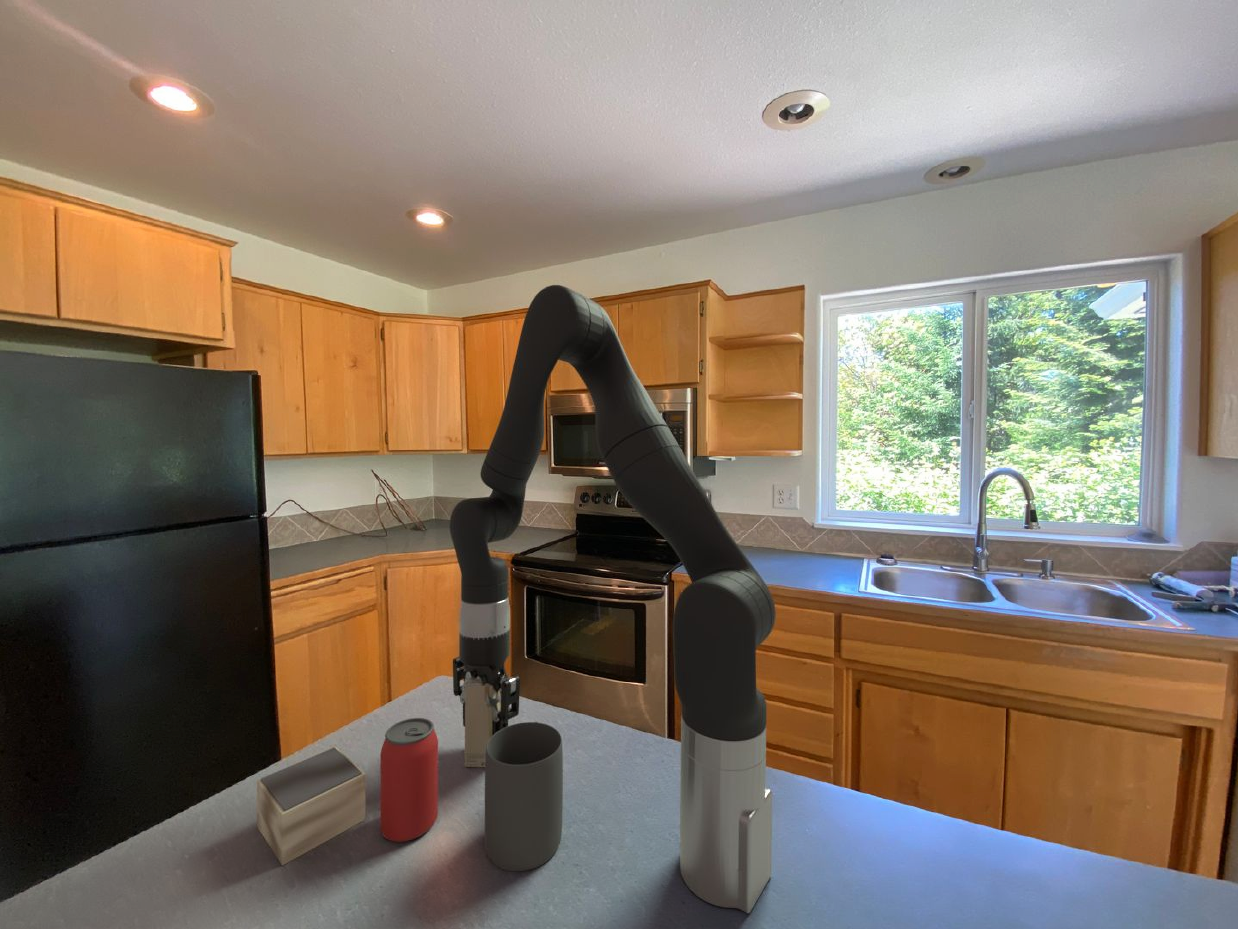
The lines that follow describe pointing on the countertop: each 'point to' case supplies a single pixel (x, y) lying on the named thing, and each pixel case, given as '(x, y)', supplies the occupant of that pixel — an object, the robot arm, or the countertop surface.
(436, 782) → the beer can
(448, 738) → the countertop surface
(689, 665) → the robot arm
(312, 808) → the birch plinth
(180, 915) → the countertop surface
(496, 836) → the mug
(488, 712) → the skincare box
